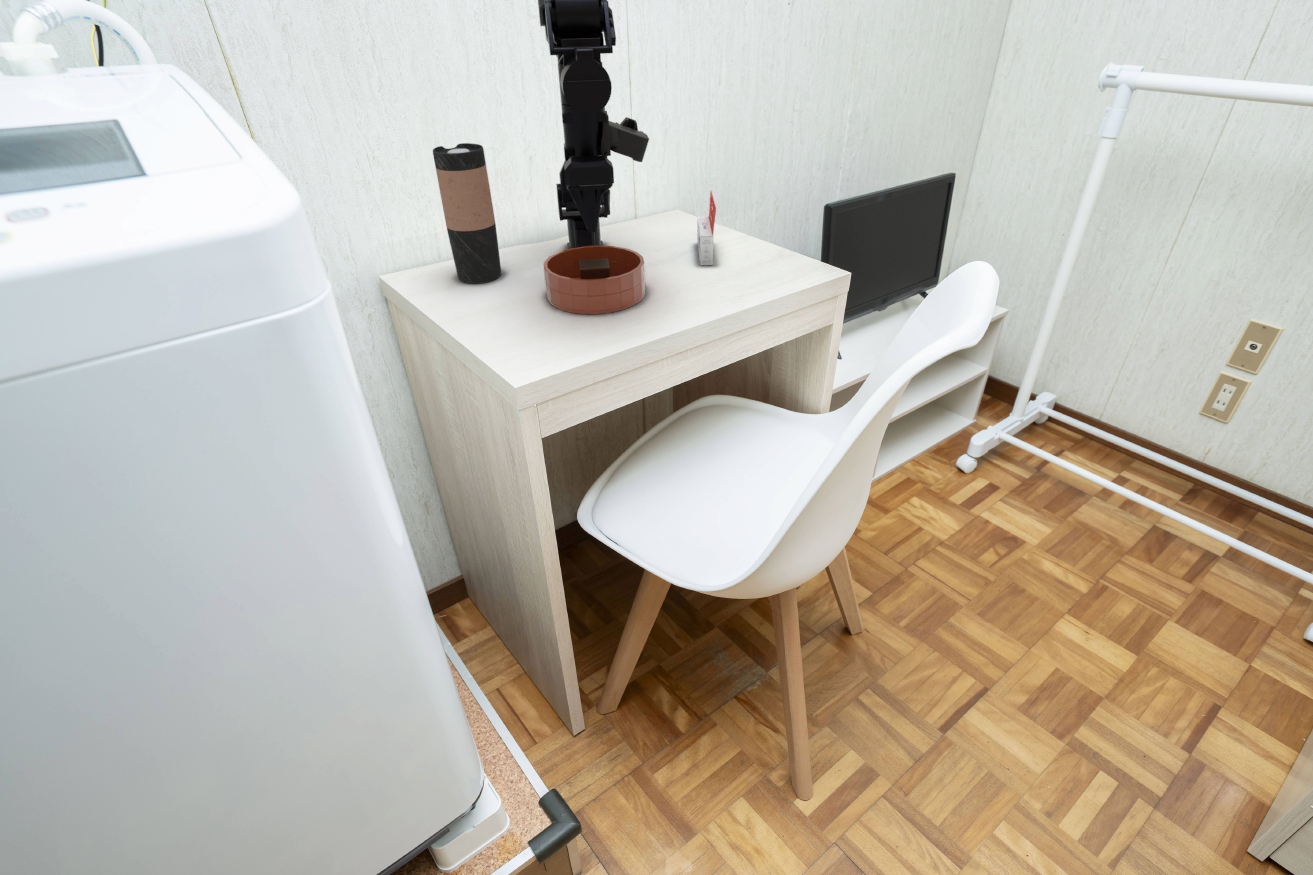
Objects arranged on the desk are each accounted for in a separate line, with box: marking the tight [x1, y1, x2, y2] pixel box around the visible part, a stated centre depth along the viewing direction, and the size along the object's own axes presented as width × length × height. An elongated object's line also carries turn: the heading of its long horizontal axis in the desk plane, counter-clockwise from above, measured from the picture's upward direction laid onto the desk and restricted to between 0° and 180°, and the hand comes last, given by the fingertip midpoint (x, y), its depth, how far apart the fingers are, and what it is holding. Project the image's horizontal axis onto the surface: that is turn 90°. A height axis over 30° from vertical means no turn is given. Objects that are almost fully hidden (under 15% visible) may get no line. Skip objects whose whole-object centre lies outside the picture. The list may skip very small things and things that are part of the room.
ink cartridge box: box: [696, 190, 717, 266], centre depth 115 cm, size 2×11×10 cm, turn 0°
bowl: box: [543, 245, 646, 315], centre depth 103 cm, size 15×15×5 cm
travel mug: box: [432, 142, 502, 285], centre depth 106 cm, size 8×8×20 cm
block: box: [579, 258, 610, 279], centre depth 103 cm, size 4×4×4 cm
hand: (591, 222), depth 96 cm, fingers open, 9 cm apart
